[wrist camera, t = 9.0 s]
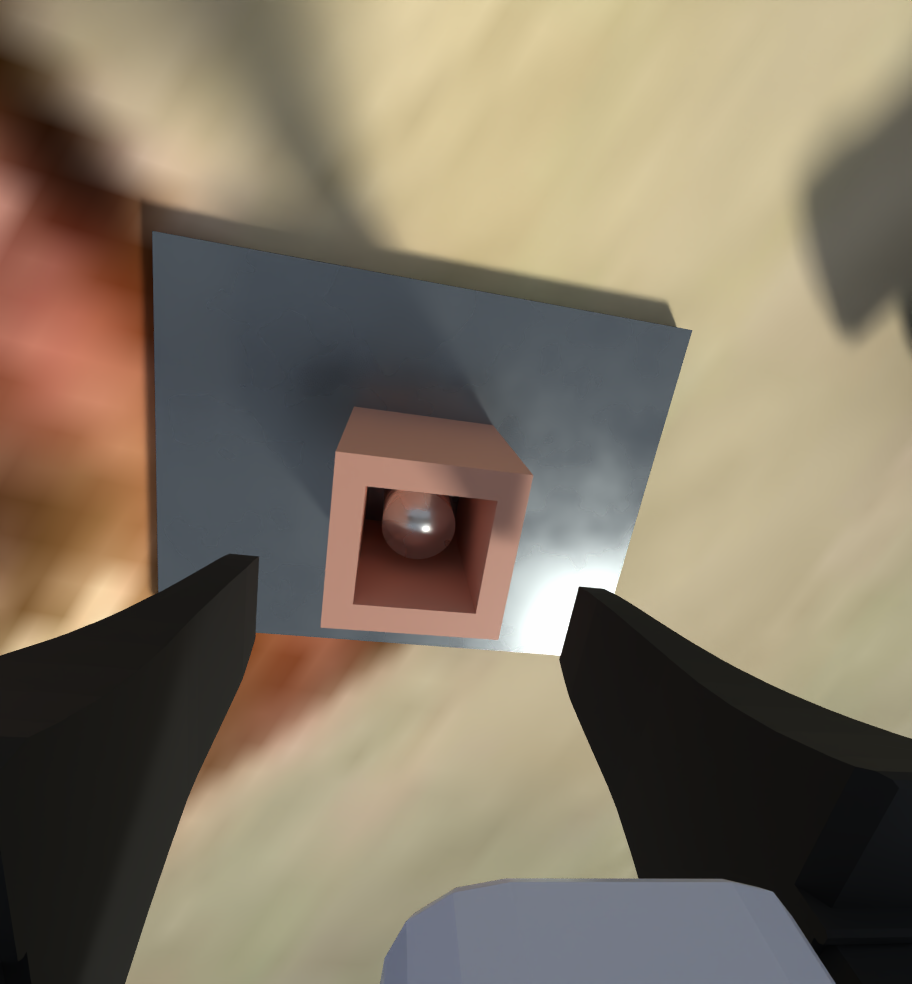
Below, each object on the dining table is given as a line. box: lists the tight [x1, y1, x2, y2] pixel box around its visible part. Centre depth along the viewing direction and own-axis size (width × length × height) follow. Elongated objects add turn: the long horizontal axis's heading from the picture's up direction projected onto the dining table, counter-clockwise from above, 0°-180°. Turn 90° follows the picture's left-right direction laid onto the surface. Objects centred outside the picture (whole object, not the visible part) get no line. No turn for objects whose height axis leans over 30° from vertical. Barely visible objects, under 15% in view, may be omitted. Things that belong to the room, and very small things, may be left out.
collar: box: [320, 407, 533, 640], centre depth 17 cm, size 5×5×6 cm
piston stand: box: [152, 231, 692, 655], centre depth 18 cm, size 18×14×5 cm
